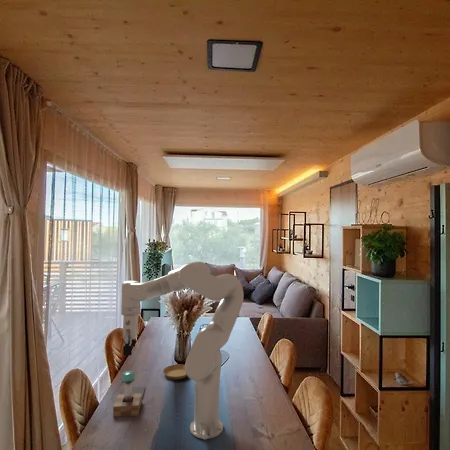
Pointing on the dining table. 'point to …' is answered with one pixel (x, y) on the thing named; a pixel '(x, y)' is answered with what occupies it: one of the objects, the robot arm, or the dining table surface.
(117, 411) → the eye block
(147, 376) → the dining table surface
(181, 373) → the plant saucer
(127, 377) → the teal capped rod
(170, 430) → the dining table surface
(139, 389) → the rubber pad
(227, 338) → the robot arm
